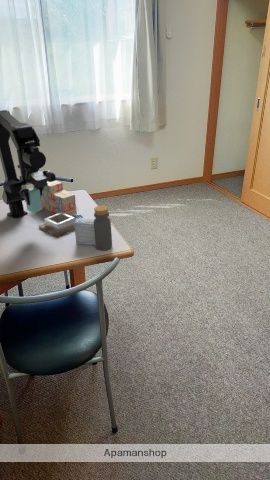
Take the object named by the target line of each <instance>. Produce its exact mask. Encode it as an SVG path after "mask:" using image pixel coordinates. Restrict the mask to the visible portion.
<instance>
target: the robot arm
mask: <svg viewBox="0 0 270 480" xmlns="http://www.w3.org/2000/svg"><path fill="white" fill-rule="evenodd" d="M10 140H11V142H12V143H13V145H14V147H15V148H16V153H17V160H18V164H17V168H18V169H19V172H20V176H19V177H18V175H17V171H16V168H15V167H16V166H15V163H14V159H13V155H12V151H11V147H10V146H11V145H10V142H9V141H10ZM40 141H41V140H40V138H39V137H38V134H37V132H36V130H35V129H34V127H33V126H32V125H31V124H29V123H27V122H20V121H19V120H17V119H16V118H15V117H14V116H13V115H12V114H11V112H10V111H9V110H7V109H6V110H5V109H3V110H2V109H1V110H0V163H1V166H2V170H3V175H4V179H5V180H4V182H3V184H2V187H3V192H2V195H1V196H2V197H1V198H2V201H3V203H5V204H6V205H7V206H8V209H9V212H7V213H6V215H7V216H10V217H11V218H13V219H17V218H19V217H23V216H26V215H27V214H28V211H25V210H24V209H25V208H24V203H23V202H25V204H26V203H27V205H30V200H29V195H28V191H29V188H27V186H28V185H32V186H33V187H34V188H37V189H39V190H40V197H41V196H42V191H43V188H44V187H45V186H46V185H48V183H47V181H49V182H53V181H57V178H56V177H57V176H56V174H55V173H54V172H52V171H50V170H49V169H45V170H40V169H42V168H43V167H44V166H45V164H46V163H47V157H46V155H45V154H44V153H43V152H42V151H40V149H39V147H41V144H40ZM27 205H26V206H27Z"/></svg>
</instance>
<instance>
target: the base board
mask: <svg viewBox="0 0 270 480" xmlns="http://www.w3.org/2000/svg"><path fill="white" fill-rule="evenodd" d="M60 222H62V220H61V221H59V222H56V223H60ZM38 227H39V229H40V230H42V231H44V232H46V233H48V234H50V235H52V236H55V237H57V238H59V237H62V236H63V235H64V236H65V235H66V234H69V233H71V232H73V231H75V227H74V225H73V226H71V227H68V228H66V229H64V230H61V231H59V232H58V231H55V230H53V229H51V228H49V227H47V226H45V223H43V224H40V225H39V226H38Z"/></svg>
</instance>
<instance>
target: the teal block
mask: <svg viewBox="0 0 270 480" xmlns="http://www.w3.org/2000/svg"><path fill="white" fill-rule="evenodd" d="M28 189H29V191H28V195H29V200H30V205H27V203H26V202H25V204H26V210H27V212H30V213H33V214H34V213H37V212H39V211H42V210H43V207H42V203H41V197H40V190H39V189H37V188H34V186H33V187H29V188H28Z"/></svg>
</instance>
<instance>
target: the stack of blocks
mask: <svg viewBox="0 0 270 480" xmlns="http://www.w3.org/2000/svg"><path fill="white" fill-rule="evenodd" d="M47 183H48V185H46V186H45V187H44V188H43V191H42V196H41V203H42V208H44V209H46V210H48V211H49V212H52V213H54V215H55V214H58V213H60V212H62V213H65V214H67V215H70V216H71V215H74V214H76V215H77V204H76V202H77V201H76V195H75V194H74V193H72V192H70V191H68V190H65V189H64V187H63V183H62V182H61V181H59V180H56V181H53V182H49V181H47ZM74 216H75V215H74Z"/></svg>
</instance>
